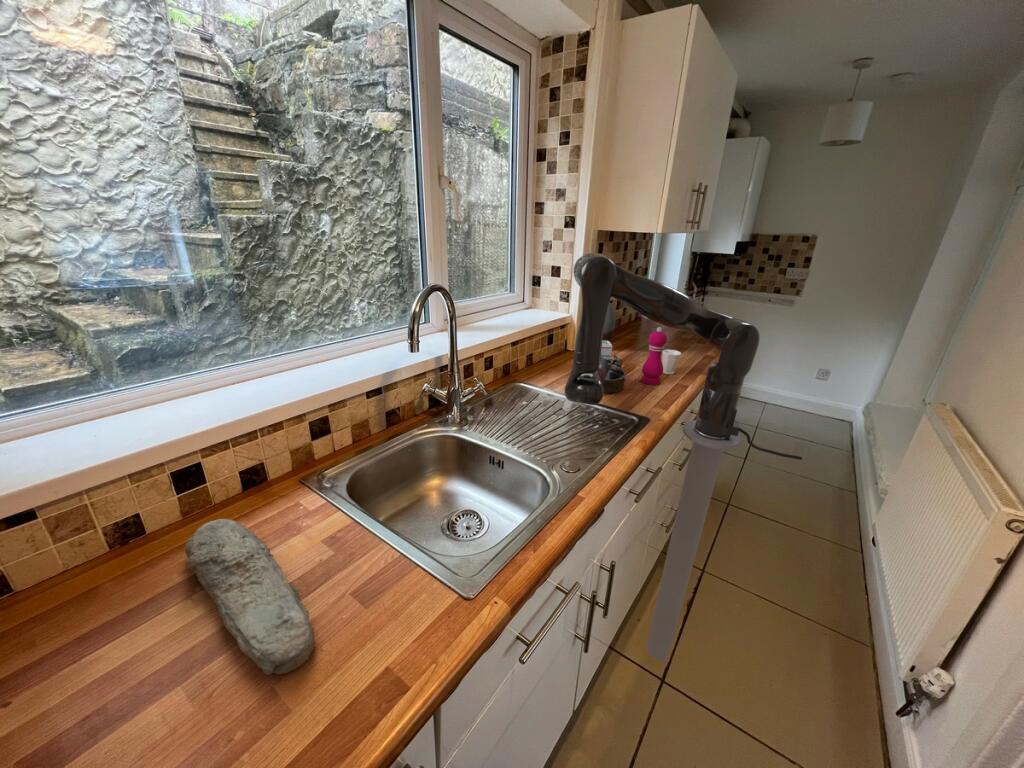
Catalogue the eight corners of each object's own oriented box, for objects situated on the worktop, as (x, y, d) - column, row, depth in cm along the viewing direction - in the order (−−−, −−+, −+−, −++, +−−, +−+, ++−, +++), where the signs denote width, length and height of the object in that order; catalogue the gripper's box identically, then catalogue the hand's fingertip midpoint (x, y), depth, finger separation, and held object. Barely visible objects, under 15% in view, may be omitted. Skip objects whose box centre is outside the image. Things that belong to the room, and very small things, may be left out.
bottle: (583, 361, 164) (590, 286, 152) (593, 356, 171) (601, 283, 159) (604, 367, 159) (614, 289, 147) (614, 361, 165) (624, 286, 154)
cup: (655, 372, 155) (659, 352, 152) (665, 365, 162) (668, 346, 159) (674, 376, 151) (678, 356, 148) (683, 370, 158) (687, 350, 155)
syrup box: (608, 385, 139) (613, 345, 134) (591, 385, 139) (595, 344, 134) (605, 379, 144) (609, 340, 139) (588, 379, 144) (592, 339, 139)
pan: (628, 380, 146) (630, 367, 144) (618, 398, 132) (620, 384, 130) (581, 372, 153) (582, 359, 151) (566, 388, 138) (568, 374, 136)
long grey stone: (256, 710, 48) (337, 651, 55) (250, 682, 46) (334, 624, 53) (173, 548, 68) (240, 520, 75) (166, 523, 66) (236, 497, 73)
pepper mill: (658, 387, 141) (668, 331, 134) (637, 382, 145) (646, 327, 137) (663, 380, 147) (673, 326, 140) (643, 376, 151) (651, 323, 143)
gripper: (619, 363, 122) (625, 348, 136) (572, 356, 127) (583, 343, 141) (616, 386, 125) (622, 369, 139) (570, 379, 130) (581, 363, 144)
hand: (602, 356), depth 140 cm, fingers open, 8 cm apart
